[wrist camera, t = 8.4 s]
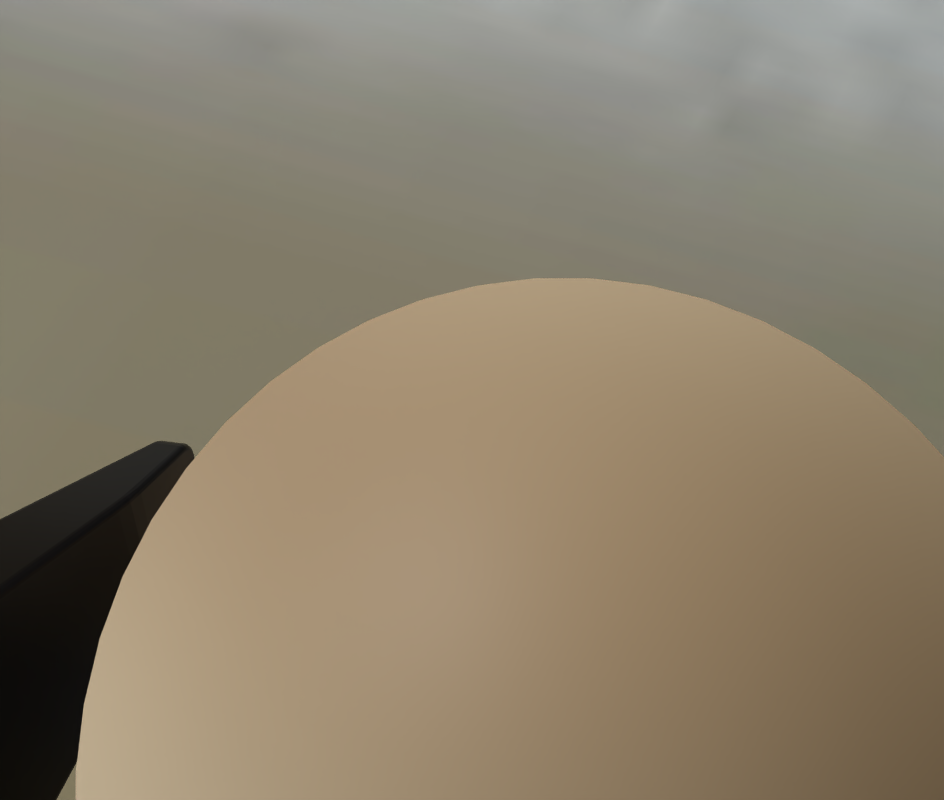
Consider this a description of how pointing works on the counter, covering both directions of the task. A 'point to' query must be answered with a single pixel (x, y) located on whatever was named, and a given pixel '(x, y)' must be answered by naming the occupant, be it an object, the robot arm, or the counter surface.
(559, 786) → the beech pin
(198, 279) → the counter surface
